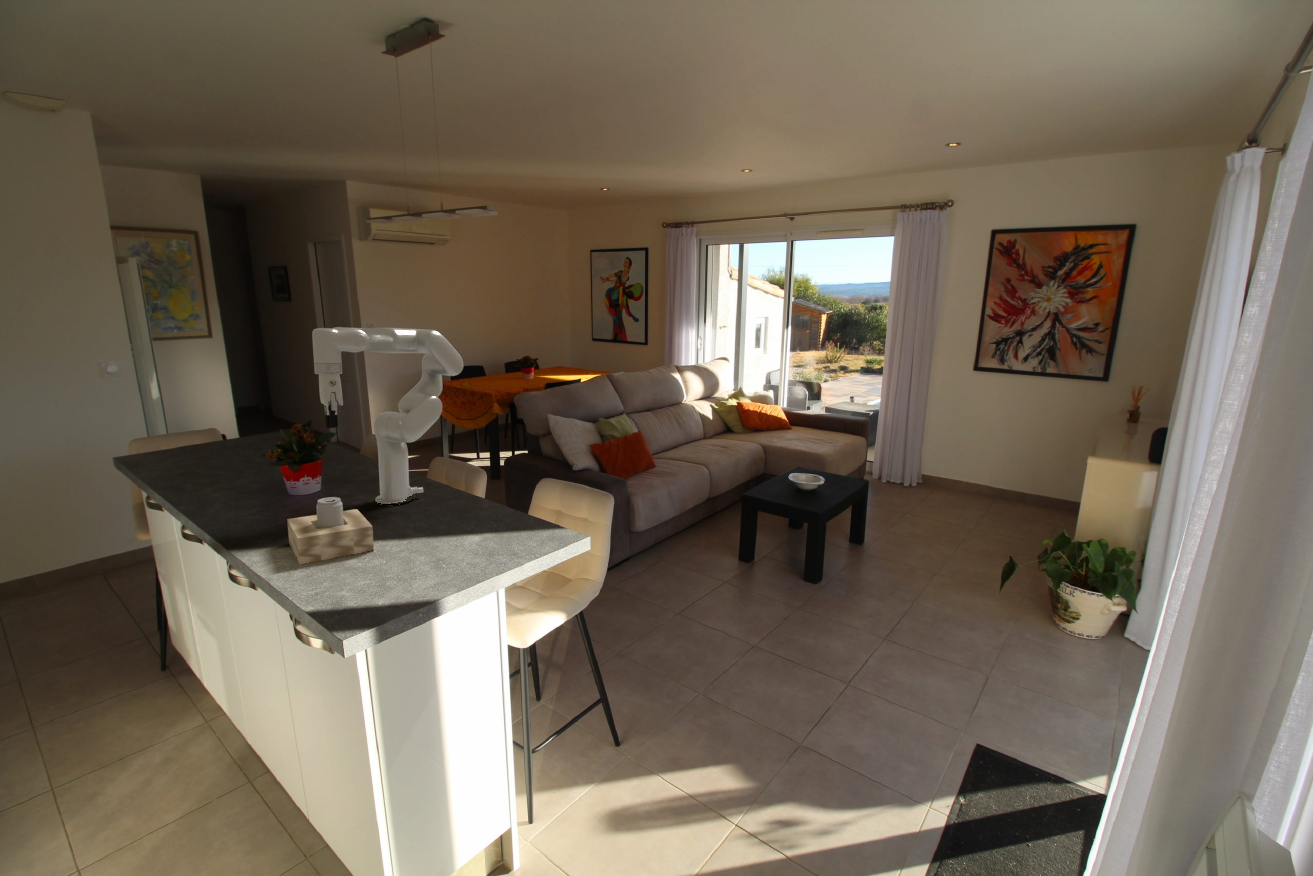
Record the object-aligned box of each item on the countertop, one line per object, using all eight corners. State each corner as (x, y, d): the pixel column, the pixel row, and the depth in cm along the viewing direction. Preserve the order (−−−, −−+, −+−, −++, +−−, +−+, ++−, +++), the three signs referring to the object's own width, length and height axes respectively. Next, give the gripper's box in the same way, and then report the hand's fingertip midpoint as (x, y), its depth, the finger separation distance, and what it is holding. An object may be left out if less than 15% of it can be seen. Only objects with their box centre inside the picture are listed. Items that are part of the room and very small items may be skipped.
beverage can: (327, 546, 165) (324, 504, 163) (313, 541, 168) (310, 500, 166) (349, 540, 171) (347, 499, 168) (335, 535, 174) (333, 495, 172)
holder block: (358, 531, 183) (356, 509, 181) (373, 550, 169) (372, 526, 168) (289, 543, 172) (287, 519, 170) (299, 564, 158) (297, 538, 157)
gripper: (347, 370, 184) (350, 430, 187) (336, 366, 195) (339, 422, 199) (319, 371, 179) (323, 432, 183) (310, 367, 191) (314, 424, 194)
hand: (331, 427), depth 191 cm, fingers closed
